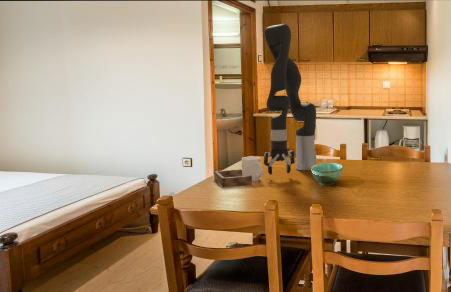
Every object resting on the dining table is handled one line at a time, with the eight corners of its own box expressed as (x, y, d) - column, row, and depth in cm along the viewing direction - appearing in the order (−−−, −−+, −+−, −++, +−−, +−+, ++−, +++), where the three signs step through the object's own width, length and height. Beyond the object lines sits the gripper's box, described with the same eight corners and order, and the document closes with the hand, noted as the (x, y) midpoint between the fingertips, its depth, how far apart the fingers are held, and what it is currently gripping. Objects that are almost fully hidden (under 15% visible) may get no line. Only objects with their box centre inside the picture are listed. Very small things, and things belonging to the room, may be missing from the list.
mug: (269, 181, 230) (268, 158, 228) (255, 184, 225) (254, 161, 223) (252, 177, 239) (252, 155, 238) (238, 179, 234) (238, 158, 233)
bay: (241, 177, 240) (241, 169, 239) (251, 185, 223) (251, 176, 222) (214, 179, 237) (214, 171, 236) (222, 187, 220) (222, 178, 219)
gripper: (290, 137, 237) (291, 171, 240) (261, 139, 234) (262, 173, 237) (296, 139, 230) (296, 174, 232) (266, 141, 227) (267, 176, 229)
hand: (279, 173), depth 234 cm, fingers open, 8 cm apart
